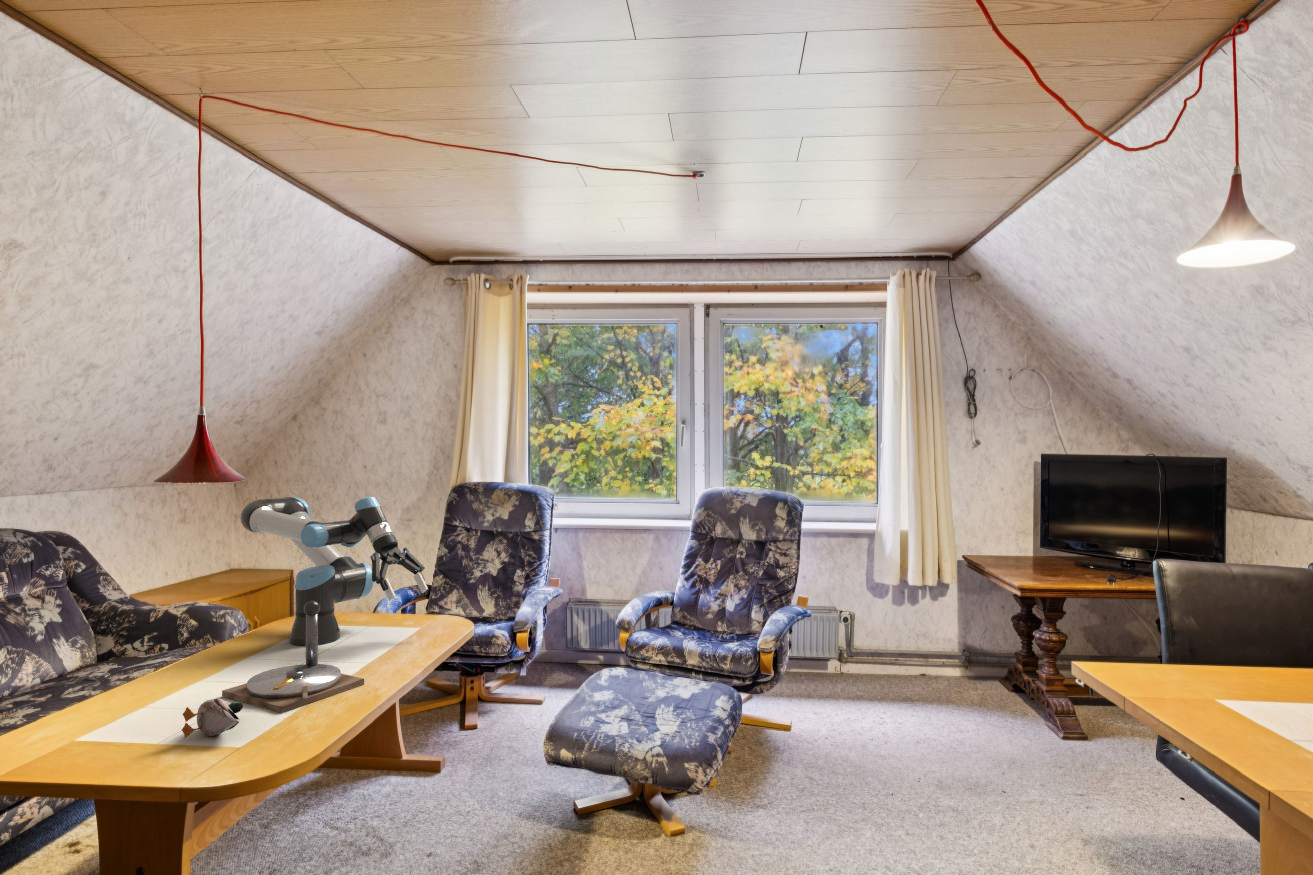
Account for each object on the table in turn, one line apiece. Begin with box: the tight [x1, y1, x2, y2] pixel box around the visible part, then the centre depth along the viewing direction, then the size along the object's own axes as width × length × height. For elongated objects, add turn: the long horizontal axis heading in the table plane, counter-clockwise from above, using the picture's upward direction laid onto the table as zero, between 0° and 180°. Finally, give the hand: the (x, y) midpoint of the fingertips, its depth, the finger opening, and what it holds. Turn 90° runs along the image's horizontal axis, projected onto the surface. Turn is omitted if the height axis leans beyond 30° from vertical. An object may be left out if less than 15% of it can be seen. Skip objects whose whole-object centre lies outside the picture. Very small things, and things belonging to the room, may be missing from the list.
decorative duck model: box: [181, 698, 244, 739], centre depth 167 cm, size 15×8×15 cm
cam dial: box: [246, 601, 342, 698], centre depth 195 cm, size 23×22×19 cm
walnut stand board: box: [221, 673, 365, 714], centre depth 194 cm, size 24×24×4 cm
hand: (409, 594), depth 242 cm, fingers open, 13 cm apart
